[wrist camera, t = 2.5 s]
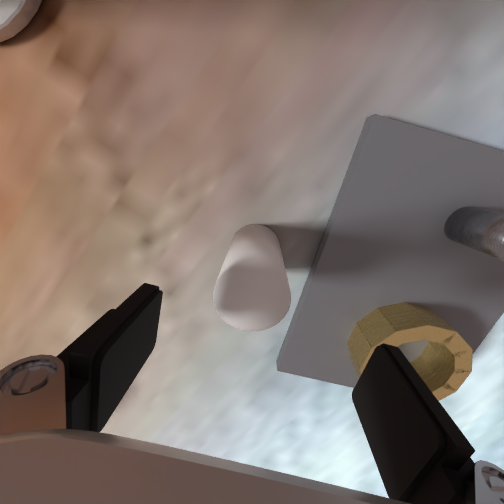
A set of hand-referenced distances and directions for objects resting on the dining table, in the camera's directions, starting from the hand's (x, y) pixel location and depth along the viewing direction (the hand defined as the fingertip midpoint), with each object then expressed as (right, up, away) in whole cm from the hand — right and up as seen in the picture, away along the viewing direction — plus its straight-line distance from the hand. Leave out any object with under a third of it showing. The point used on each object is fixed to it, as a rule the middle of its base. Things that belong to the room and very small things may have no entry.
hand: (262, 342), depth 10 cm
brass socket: (+12, -4, +11) cm, 17 cm away
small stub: (+15, +6, +7) cm, 17 cm away
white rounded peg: (0, +4, +10) cm, 10 cm away
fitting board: (+12, +1, +10) cm, 16 cm away
